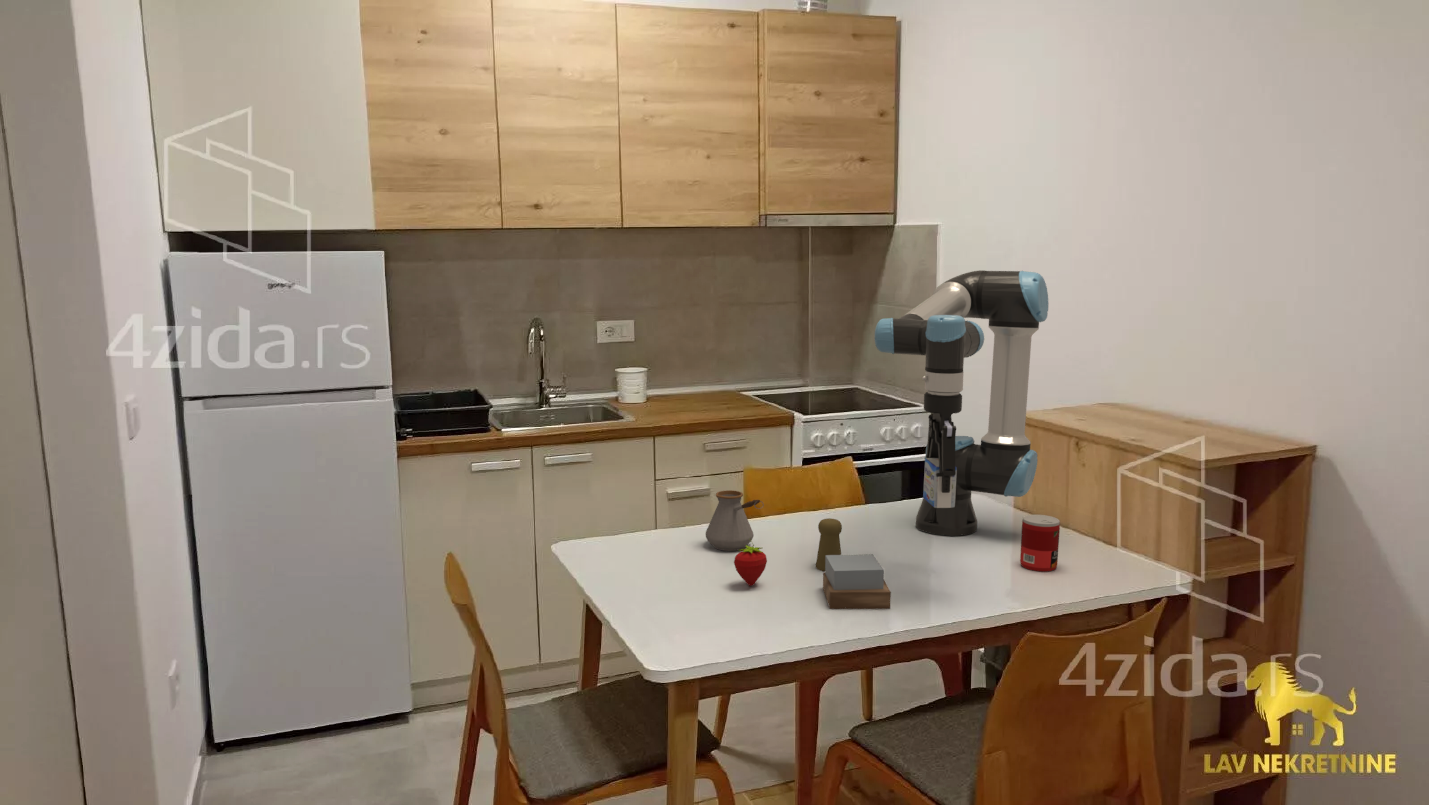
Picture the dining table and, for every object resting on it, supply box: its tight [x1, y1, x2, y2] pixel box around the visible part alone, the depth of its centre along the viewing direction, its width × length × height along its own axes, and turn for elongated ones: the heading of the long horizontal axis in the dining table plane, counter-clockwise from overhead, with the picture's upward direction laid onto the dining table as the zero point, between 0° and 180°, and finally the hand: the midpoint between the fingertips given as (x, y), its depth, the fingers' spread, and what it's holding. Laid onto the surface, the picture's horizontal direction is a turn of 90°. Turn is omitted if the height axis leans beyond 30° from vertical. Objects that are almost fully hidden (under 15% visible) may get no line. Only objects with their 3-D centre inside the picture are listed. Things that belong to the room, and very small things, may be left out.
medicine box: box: [922, 458, 957, 508], centre depth 209 cm, size 8×4×9 cm, turn 5°
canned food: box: [1019, 514, 1061, 573], centre depth 228 cm, size 8×8×11 cm
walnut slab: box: [822, 572, 892, 610], centre depth 208 cm, size 12×12×4 cm
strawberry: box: [733, 540, 768, 587], centre depth 215 cm, size 6×8×10 cm
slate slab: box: [824, 553, 885, 590], centre depth 208 cm, size 10×10×4 cm
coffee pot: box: [705, 490, 765, 552], centre depth 237 cm, size 21×12×15 cm, turn 25°
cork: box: [815, 518, 843, 572], centre depth 227 cm, size 6×6×11 cm
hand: (938, 501), depth 209 cm, fingers closed on medicine box, 8 cm apart
